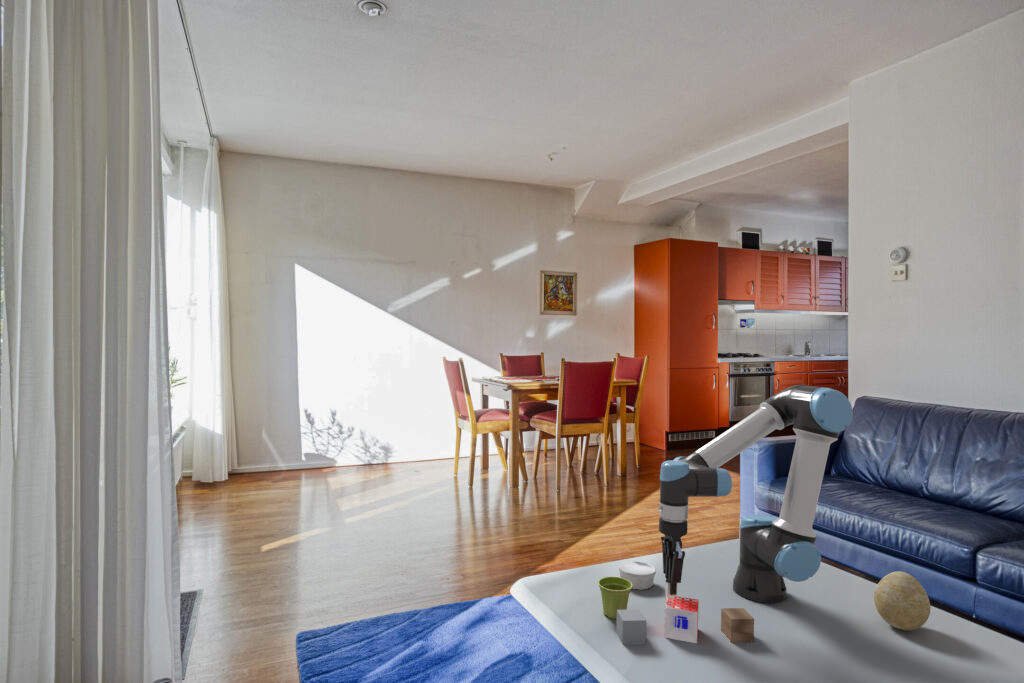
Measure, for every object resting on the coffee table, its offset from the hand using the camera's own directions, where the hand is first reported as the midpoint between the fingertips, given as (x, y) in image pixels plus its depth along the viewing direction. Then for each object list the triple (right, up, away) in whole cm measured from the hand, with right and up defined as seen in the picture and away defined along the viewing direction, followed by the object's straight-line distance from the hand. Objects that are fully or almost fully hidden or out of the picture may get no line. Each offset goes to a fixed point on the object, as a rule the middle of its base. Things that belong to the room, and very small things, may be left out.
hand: (671, 604), depth 163 cm
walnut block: (+15, -5, -9) cm, 18 cm away
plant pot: (-15, -4, +2) cm, 16 cm away
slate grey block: (-13, -4, -11) cm, 17 cm away
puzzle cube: (+1, -4, -8) cm, 9 cm away
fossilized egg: (+61, -6, -2) cm, 62 cm away
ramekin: (-5, -4, +23) cm, 24 cm away
